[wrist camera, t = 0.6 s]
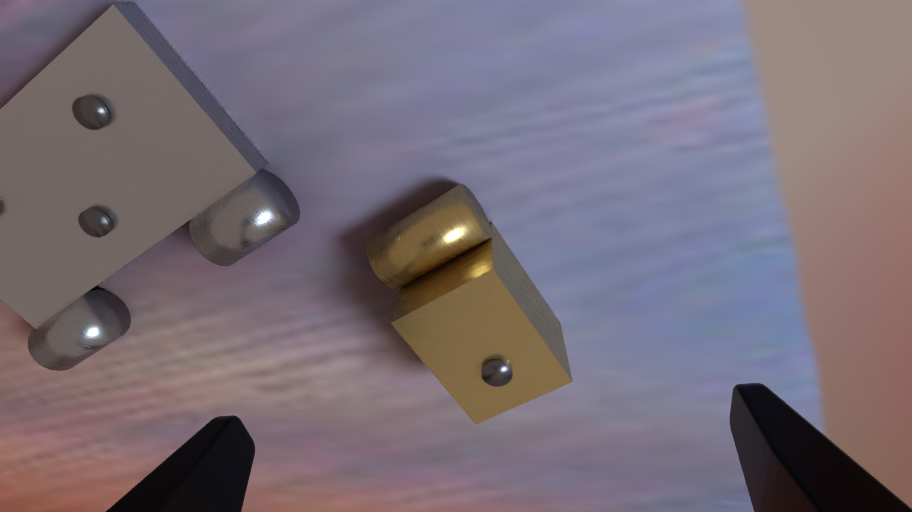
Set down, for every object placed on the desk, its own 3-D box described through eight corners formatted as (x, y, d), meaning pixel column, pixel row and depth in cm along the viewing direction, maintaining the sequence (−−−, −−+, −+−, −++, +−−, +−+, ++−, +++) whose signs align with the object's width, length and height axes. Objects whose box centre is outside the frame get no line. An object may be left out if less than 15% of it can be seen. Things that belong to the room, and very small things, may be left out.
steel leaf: (93, 348, 27) (59, 381, 25) (-81, 198, 23) (-137, 221, 21) (306, 209, 23) (288, 234, 21) (133, 2, 19) (90, 6, 17)
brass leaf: (477, 362, 26) (475, 428, 22) (371, 228, 23) (349, 280, 19) (560, 322, 25) (573, 385, 21) (460, 175, 22) (454, 218, 18)
